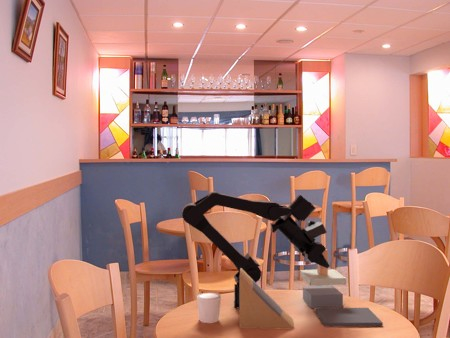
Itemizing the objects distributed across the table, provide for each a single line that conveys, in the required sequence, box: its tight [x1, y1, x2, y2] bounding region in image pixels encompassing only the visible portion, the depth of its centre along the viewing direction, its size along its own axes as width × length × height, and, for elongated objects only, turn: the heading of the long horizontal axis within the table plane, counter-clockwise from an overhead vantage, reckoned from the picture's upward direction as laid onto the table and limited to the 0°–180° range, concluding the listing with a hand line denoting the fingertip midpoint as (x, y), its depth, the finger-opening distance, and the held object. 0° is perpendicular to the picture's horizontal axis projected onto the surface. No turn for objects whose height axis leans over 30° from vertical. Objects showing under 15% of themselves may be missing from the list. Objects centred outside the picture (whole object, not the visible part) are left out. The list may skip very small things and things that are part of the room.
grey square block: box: [302, 285, 344, 309], centre depth 156 cm, size 10×10×4 cm
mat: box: [314, 307, 384, 328], centre depth 141 cm, size 16×13×1 cm
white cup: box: [196, 292, 222, 324], centre depth 140 cm, size 7×7×7 cm
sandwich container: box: [239, 268, 295, 330], centre depth 137 cm, size 9×15×15 cm, turn 87°
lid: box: [300, 248, 347, 286], centre depth 155 cm, size 11×11×10 cm
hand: (326, 265), depth 156 cm, fingers closed on lid, 3 cm apart
